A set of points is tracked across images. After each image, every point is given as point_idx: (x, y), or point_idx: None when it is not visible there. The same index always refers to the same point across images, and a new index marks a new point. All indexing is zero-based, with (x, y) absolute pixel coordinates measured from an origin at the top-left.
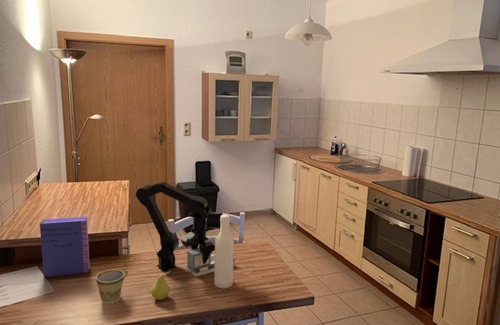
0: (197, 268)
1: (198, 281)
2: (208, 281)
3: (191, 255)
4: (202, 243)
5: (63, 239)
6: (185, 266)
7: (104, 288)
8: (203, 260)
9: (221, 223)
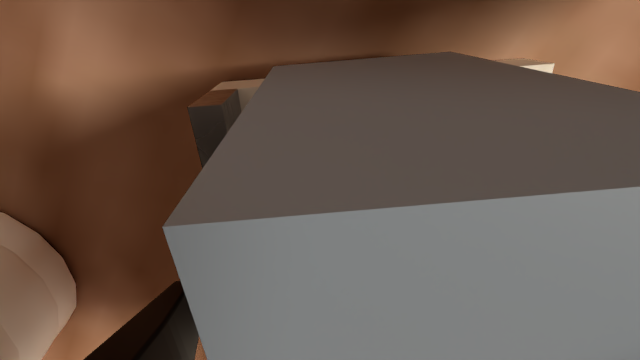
0: (204, 145)
1: (84, 64)
2: (60, 171)
3: (334, 168)
4: None
5: None
6: (530, 59)
7: None
8: (103, 343)
9: None
